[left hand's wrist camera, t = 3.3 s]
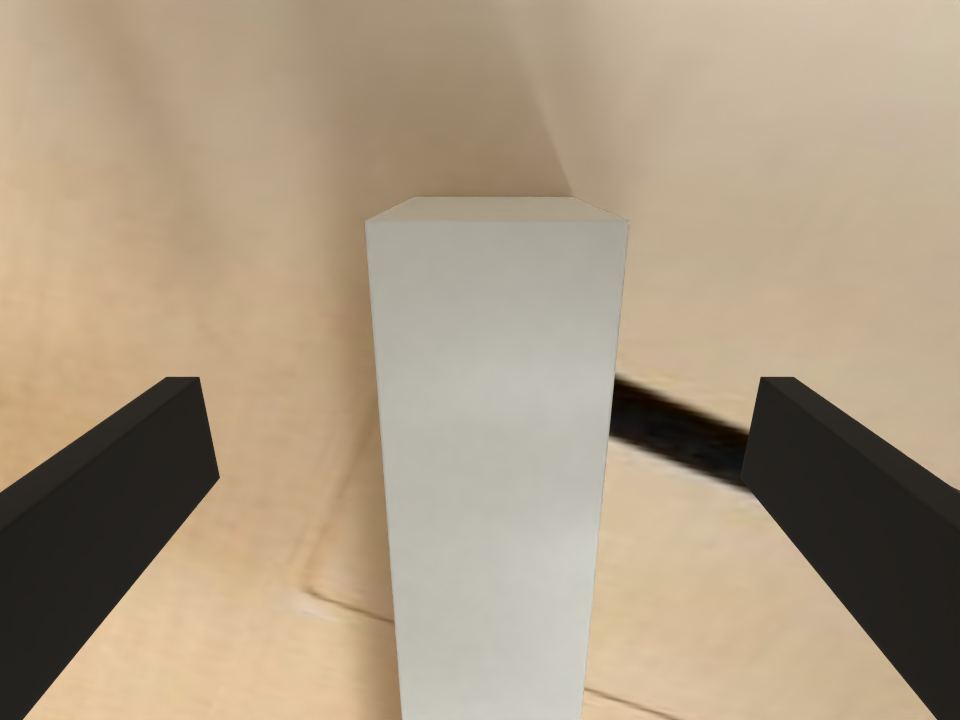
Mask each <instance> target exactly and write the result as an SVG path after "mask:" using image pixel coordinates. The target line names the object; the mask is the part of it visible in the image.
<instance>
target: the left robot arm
mask: <svg viewBox="0 0 960 720" xmlns="http://www.w3.org/2000/svg"><path fill="white" fill-rule="evenodd" d="M219 478H220V476H219V471H218V466H217V461H216V457H215V452H214V447H213V442H212V437H211V432H210V427H209V422H208V417H207V412H206V408H205V403H204V398H203V393H202V388H201V383H200V378H199V377H166V378H164V379H163V380H161V381H160V382H159V383H157V384H156V385H154V386H153V387H151V388H150V389H148V390H147V391H146V392H144V393H143V394H141V395H140V396H138V397H137V398H136V399H134V400H133V401H131V402H130V403H128V404H127V405H125V406H124V407H123V408H121V409H120V410H118V411H117V412H115V413H114V414H113V415H111V416H110V417H108V418H107V419H105V420H104V421H102V422H101V423H100V424H98V425H97V426H95V427H94V428H92V429H91V430H90V431H88V432H87V433H85V434H84V435H82V436H81V437H80V438H78V439H77V440H75V441H74V442H72V443H71V444H69V445H68V446H67V447H65V448H64V449H62V450H61V451H59V452H58V453H57V454H55V455H54V456H52V457H51V458H49V459H48V460H46V461H45V462H44V463H42V464H41V465H39V466H38V467H36V468H35V469H34V470H32V471H31V472H29V473H28V474H26V475H25V476H23V477H22V478H21V479H19V480H18V481H16V482H15V483H13V484H12V485H11V486H9V487H8V488H6V489H5V490H3V491H2V492H0V720H23V719H24V718H25V716H26V715H27V714H28V713H29V711H30V710H31V709H32V708H33V706H34V705H35V704H36V703H37V702H38V700H39V699H40V698H41V697H42V695H43V694H44V693H45V692H46V691H47V689H48V688H49V687H50V686H51V684H52V683H53V682H54V681H55V679H56V678H57V677H58V676H59V675H60V673H61V672H62V671H63V670H64V668H65V667H66V666H67V665H68V664H69V662H70V661H71V660H72V659H73V657H74V656H75V655H76V654H77V652H78V651H79V650H80V649H81V648H82V646H83V645H84V644H85V643H86V641H87V640H88V639H89V638H90V637H91V635H92V634H93V633H94V632H95V630H96V629H97V628H98V627H99V626H100V624H101V623H102V622H103V621H104V619H105V618H106V617H107V616H108V614H109V613H110V612H111V611H112V610H113V608H114V607H115V606H116V605H117V603H118V602H119V601H120V600H121V599H122V597H123V596H124V595H125V594H126V592H127V591H128V590H129V589H130V587H131V586H132V585H133V584H134V583H135V581H136V580H137V579H138V578H139V576H140V575H141V574H142V573H143V572H144V570H145V569H146V568H147V567H148V565H149V564H150V563H151V562H152V560H153V559H154V558H155V557H156V556H157V554H158V553H159V552H160V551H161V549H162V548H163V547H164V546H165V545H166V543H167V542H168V541H169V540H170V538H171V537H172V536H173V535H174V533H175V532H176V531H177V530H178V529H179V527H180V526H181V525H182V524H183V522H184V521H185V520H186V519H187V518H188V516H189V515H190V514H191V513H192V511H193V510H194V509H195V508H196V507H197V505H198V504H199V503H200V502H201V500H202V499H203V498H204V497H205V495H206V494H207V493H208V492H209V491H210V489H211V488H212V487H213V486H214V484H215V483H216V482H217V481H218V480H219ZM740 478H741V480H742V481H743V482H744V483H745V484H746V486H747V487H748V488H749V489H750V491H751V492H752V493H753V494H754V495H755V497H756V498H757V499H758V500H759V502H760V503H761V504H762V505H763V507H764V508H765V509H766V510H767V511H768V513H769V514H770V515H771V516H772V518H773V519H774V520H775V521H776V522H777V524H778V525H779V526H780V527H781V529H782V530H783V531H784V532H785V533H786V535H787V536H788V537H789V538H790V540H791V541H792V542H793V543H794V545H795V546H796V547H797V548H798V549H799V551H800V552H801V553H802V554H803V556H804V557H805V558H806V559H807V560H808V562H809V563H810V564H811V565H812V567H813V568H814V569H815V570H816V572H817V573H818V574H819V575H820V576H821V578H822V579H823V580H824V581H825V583H826V584H827V585H828V586H829V587H830V589H831V590H832V591H833V592H834V594H835V595H836V596H837V597H838V599H839V600H840V601H841V602H842V603H843V605H844V606H845V607H846V608H847V610H848V611H849V612H850V613H851V614H852V616H853V617H854V618H855V619H856V621H857V622H858V623H859V624H860V626H861V627H862V628H863V629H864V630H865V632H866V633H867V634H868V635H869V637H870V638H871V639H872V640H873V641H874V643H875V644H876V645H877V646H878V648H879V649H880V650H881V651H882V652H883V654H884V655H885V656H886V657H887V659H888V660H889V661H890V662H891V664H892V665H893V666H894V667H895V668H896V670H897V671H898V672H899V673H900V675H901V676H902V677H903V678H904V679H905V681H906V682H907V683H908V684H909V686H910V687H911V688H912V689H913V691H914V692H915V693H916V694H917V695H918V697H919V698H920V699H921V700H922V702H923V703H924V704H925V705H926V706H927V708H928V709H929V710H930V711H931V713H932V714H933V715H934V716H935V718H936V719H937V720H960V490H957V489H955V488H953V487H951V486H949V485H948V484H947V483H945V482H944V481H942V480H941V479H939V478H938V477H937V476H935V475H934V474H932V473H931V472H929V471H928V470H926V469H925V468H924V467H922V466H921V465H919V464H918V463H916V462H915V461H914V460H912V459H911V458H909V457H908V456H906V455H905V454H903V453H902V452H901V451H899V450H898V449H896V448H895V447H893V446H892V445H891V444H889V443H888V442H886V441H885V440H883V439H882V438H880V437H879V436H878V435H876V434H875V433H873V432H872V431H870V430H869V429H868V428H866V427H865V426H863V425H862V424H860V423H859V422H858V421H856V420H855V419H853V418H852V417H850V416H849V415H847V414H846V413H845V412H843V411H842V410H840V409H839V408H837V407H836V406H835V405H833V404H832V403H830V402H829V401H827V400H826V399H824V398H823V397H822V396H820V395H819V394H817V393H816V392H814V391H813V390H812V389H810V388H809V387H807V386H806V385H804V384H803V383H801V382H800V381H799V380H797V379H796V378H794V377H761V378H760V383H759V388H758V393H757V398H756V403H755V407H754V412H753V417H752V422H751V427H750V432H749V437H748V442H747V447H746V452H745V457H744V461H743V466H742V471H741V476H740Z"/></svg>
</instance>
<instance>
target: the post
mask: <svg viewBox="0 0 960 720" xmlns="http://www.w3.org/2000/svg"><path fill="white" fill-rule="evenodd" d="M628 232H629V221H628V220H625V219H623V218H621V217H618V216H616V215H614V214H612V213H609V212H607V211H605V210H602V209H600V208H598V207H595V206H593V205H591V204H588V203H586V202H584V201H582V200H579V199H577V198H575V197H411V198H409V199H407V200H405V201H403V202H401V203H399V204H397V205H395V206H393V207H391V208H389V209H387V210H385V211H383V212H381V213H379V214H377V215H375V216H373V217H371V218H369V219H367V220H366V221H365V235H366V249H367V262H368V275H369V289H370V302H371V315H372V329H373V342H374V355H375V369H376V382H377V395H378V409H379V422H380V435H381V449H382V462H383V475H384V489H385V502H386V515H387V529H388V542H389V555H390V569H391V582H392V595H393V609H394V622H395V635H396V649H397V662H398V675H399V689H400V702H401V715H402V720H581V715H582V705H583V695H584V685H585V674H586V664H587V654H588V643H589V633H590V623H591V612H592V602H593V592H594V582H595V571H596V561H597V551H598V540H599V530H600V520H601V510H602V499H603V489H604V479H605V468H606V458H607V448H608V438H609V427H610V417H611V407H612V396H613V386H614V376H615V365H616V355H617V345H618V335H619V324H620V314H621V304H622V293H623V283H624V273H625V263H626V252H627V242H628Z"/></svg>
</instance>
